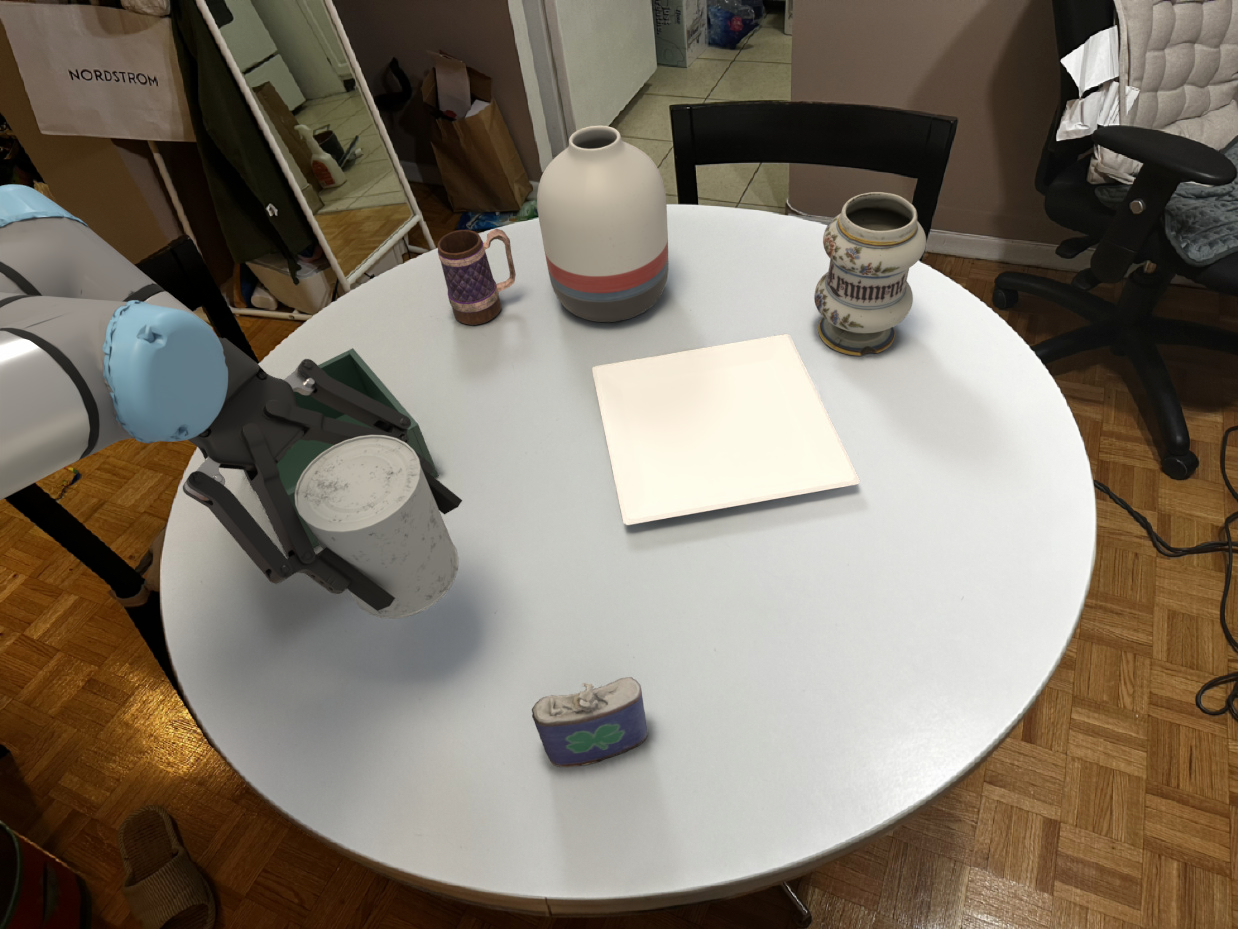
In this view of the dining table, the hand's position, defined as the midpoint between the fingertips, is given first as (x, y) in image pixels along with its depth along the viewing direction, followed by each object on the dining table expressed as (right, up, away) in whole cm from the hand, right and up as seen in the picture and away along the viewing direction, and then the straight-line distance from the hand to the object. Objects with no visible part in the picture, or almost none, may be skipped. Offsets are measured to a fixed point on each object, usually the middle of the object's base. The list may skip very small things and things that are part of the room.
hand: (421, 553), depth 64 cm
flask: (+14, -18, +6) cm, 24 cm away
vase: (+15, +32, +49) cm, 61 cm away
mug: (-3, +30, +50) cm, 58 cm away
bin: (-17, +7, +30) cm, 36 cm away
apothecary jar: (+48, +25, +39) cm, 67 cm away
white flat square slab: (+28, +11, +30) cm, 42 cm away
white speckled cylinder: (-3, -2, +4) cm, 5 cm away
